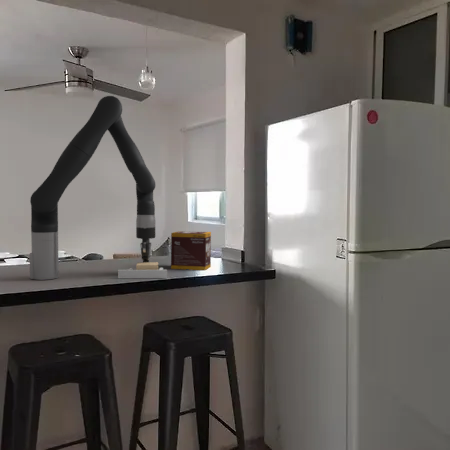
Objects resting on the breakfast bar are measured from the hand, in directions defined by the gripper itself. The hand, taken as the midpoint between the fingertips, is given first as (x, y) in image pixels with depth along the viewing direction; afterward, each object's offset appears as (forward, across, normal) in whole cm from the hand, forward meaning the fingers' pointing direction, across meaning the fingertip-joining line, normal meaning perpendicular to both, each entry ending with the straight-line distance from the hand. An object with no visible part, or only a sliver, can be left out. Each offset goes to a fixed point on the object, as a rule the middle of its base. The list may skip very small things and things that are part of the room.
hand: (146, 269), depth 179 cm
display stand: (+2, +5, 0) cm, 5 cm away
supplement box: (+2, -14, +18) cm, 23 cm away
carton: (+2, +6, +1) cm, 7 cm away
